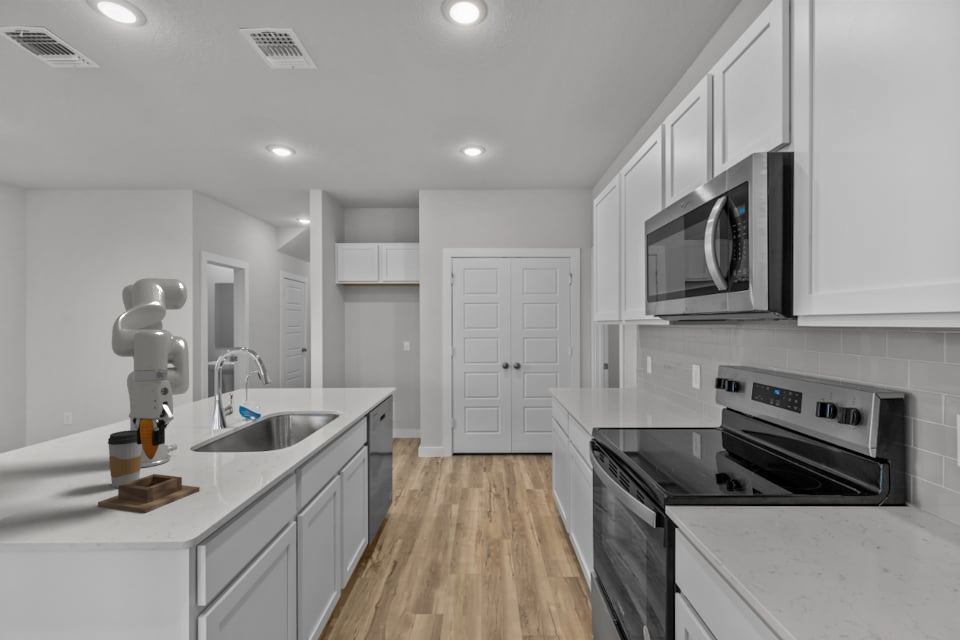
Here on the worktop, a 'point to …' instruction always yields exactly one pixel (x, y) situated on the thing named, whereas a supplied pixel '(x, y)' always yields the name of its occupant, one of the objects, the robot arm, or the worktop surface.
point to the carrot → (147, 437)
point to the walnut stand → (148, 493)
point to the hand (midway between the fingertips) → (150, 443)
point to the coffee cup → (124, 457)
